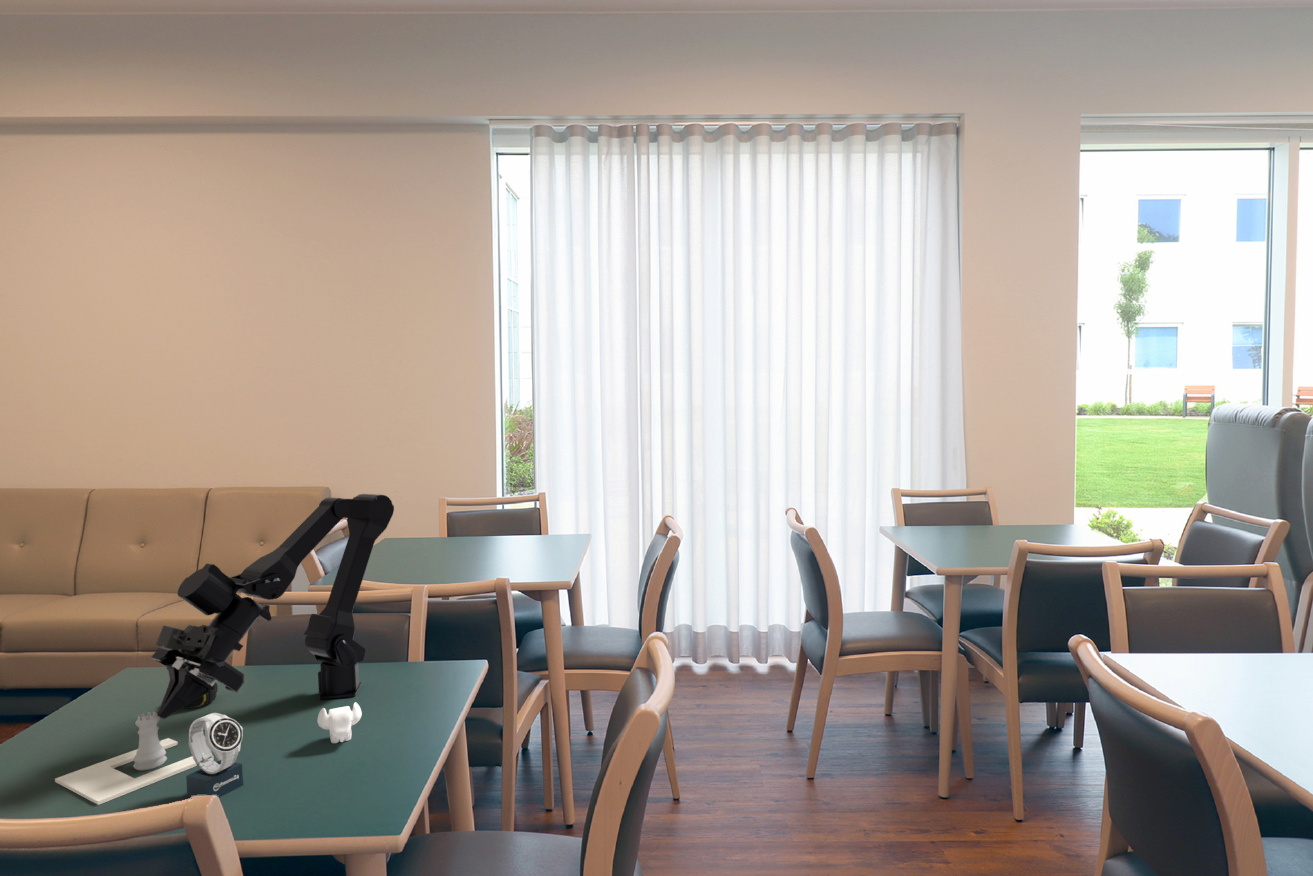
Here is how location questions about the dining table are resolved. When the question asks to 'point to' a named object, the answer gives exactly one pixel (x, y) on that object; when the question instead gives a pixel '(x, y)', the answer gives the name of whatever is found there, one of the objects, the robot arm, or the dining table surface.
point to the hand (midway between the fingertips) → (160, 717)
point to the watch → (225, 745)
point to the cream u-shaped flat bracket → (118, 776)
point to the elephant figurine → (339, 721)
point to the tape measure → (204, 698)
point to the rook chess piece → (148, 743)
